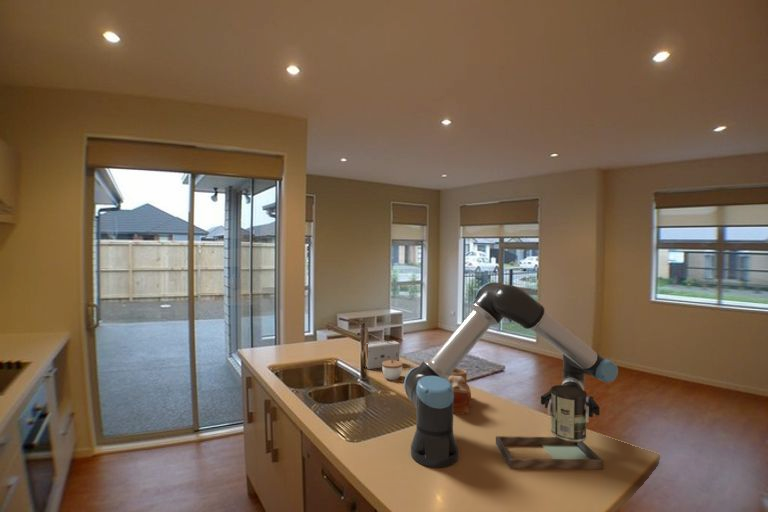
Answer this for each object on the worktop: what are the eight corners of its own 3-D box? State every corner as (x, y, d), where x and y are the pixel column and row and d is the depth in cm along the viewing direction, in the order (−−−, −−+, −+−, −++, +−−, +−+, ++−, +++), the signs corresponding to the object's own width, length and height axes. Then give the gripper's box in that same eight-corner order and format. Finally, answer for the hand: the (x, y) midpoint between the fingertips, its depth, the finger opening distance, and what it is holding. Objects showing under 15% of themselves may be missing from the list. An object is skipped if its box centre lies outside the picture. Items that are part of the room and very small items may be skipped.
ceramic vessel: (437, 417, 147) (437, 379, 147) (439, 392, 173) (439, 360, 172) (473, 420, 144) (473, 381, 144) (469, 395, 170) (469, 362, 170)
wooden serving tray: (510, 468, 112) (510, 460, 112) (495, 443, 127) (495, 436, 127) (603, 469, 112) (603, 461, 112) (577, 444, 127) (577, 437, 127)
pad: (559, 466, 113) (559, 465, 113) (541, 445, 126) (541, 444, 126) (597, 467, 113) (597, 466, 113) (576, 446, 126) (576, 445, 126)
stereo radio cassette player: (394, 362, 221) (394, 328, 220) (400, 366, 213) (401, 331, 213) (361, 366, 212) (362, 331, 211) (367, 370, 204) (367, 334, 204)
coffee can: (580, 428, 123) (580, 386, 123) (591, 443, 113) (591, 397, 113) (547, 425, 125) (547, 383, 125) (554, 440, 115) (555, 395, 115)
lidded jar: (383, 374, 198) (383, 356, 198) (403, 375, 197) (403, 357, 197) (380, 380, 188) (380, 362, 188) (401, 382, 186) (401, 363, 186)
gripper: (608, 408, 129) (609, 435, 110) (538, 395, 141) (528, 417, 121) (608, 386, 129) (610, 410, 110) (538, 375, 140) (529, 395, 121)
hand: (567, 414), depth 116 cm, fingers closed on coffee can, 10 cm apart
